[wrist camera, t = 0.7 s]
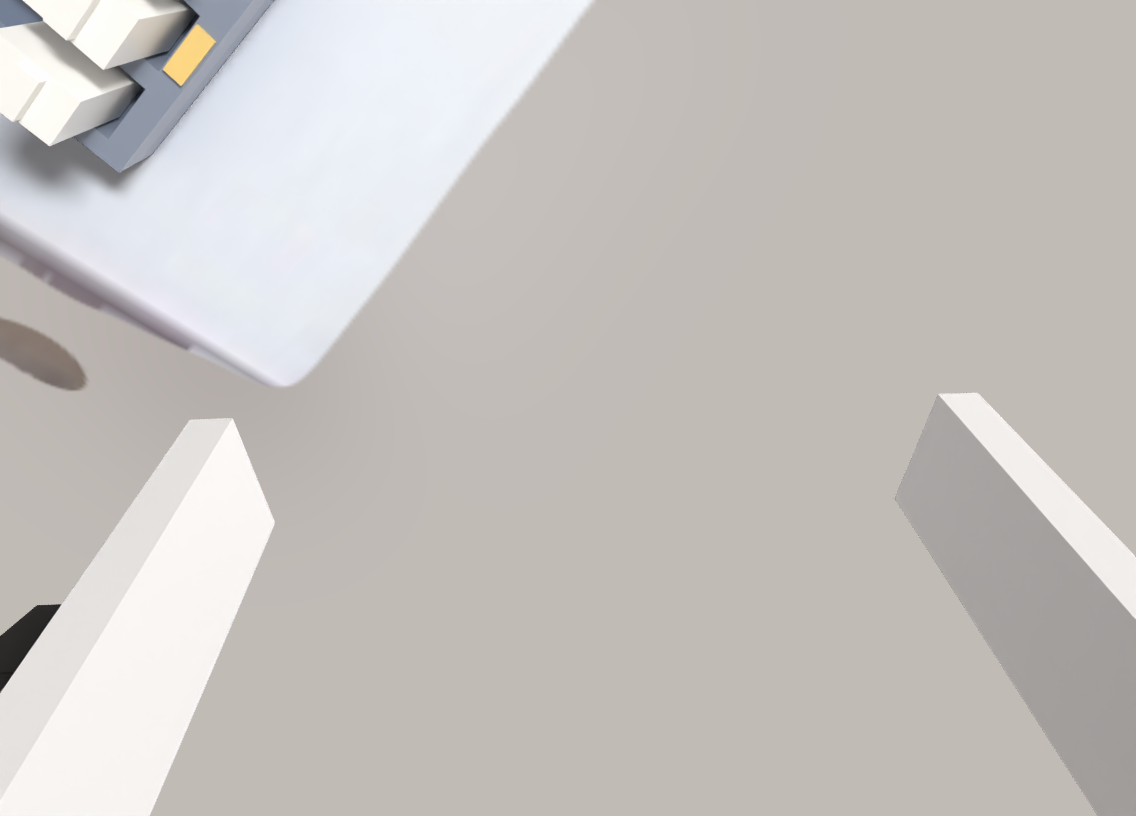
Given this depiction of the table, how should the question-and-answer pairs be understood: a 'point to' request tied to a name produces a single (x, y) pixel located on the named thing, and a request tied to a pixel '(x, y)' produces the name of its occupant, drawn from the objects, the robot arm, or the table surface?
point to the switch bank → (162, 76)
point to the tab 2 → (57, 84)
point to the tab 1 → (116, 26)
